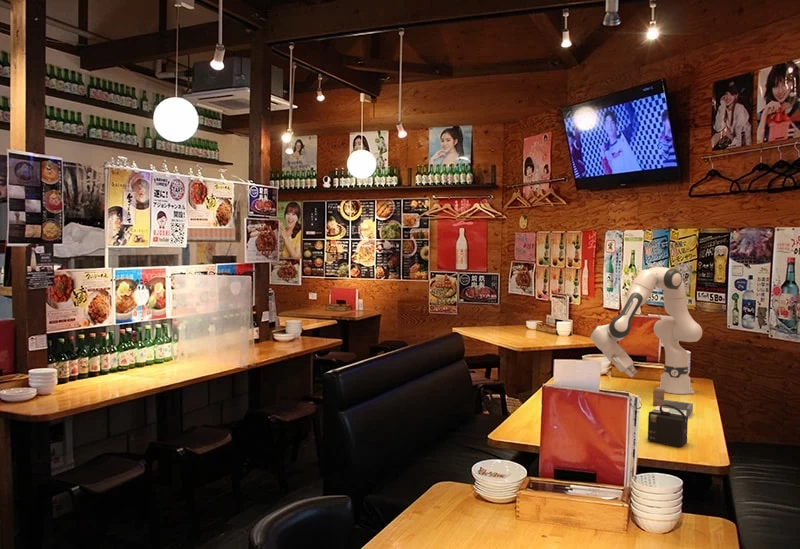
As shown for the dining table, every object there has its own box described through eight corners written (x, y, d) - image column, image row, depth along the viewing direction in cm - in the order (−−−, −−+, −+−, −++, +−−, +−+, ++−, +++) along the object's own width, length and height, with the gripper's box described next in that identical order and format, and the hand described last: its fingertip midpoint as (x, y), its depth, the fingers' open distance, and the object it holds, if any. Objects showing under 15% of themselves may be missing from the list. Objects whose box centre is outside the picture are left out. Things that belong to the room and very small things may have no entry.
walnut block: (654, 404, 320) (654, 388, 320) (664, 405, 318) (664, 389, 318) (652, 406, 316) (653, 390, 316) (662, 407, 314) (663, 391, 314)
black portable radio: (653, 435, 267) (655, 399, 266) (689, 442, 258) (690, 405, 258) (645, 441, 259) (646, 404, 258) (681, 448, 250) (682, 410, 249)
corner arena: (656, 407, 313) (657, 398, 312) (692, 412, 304) (692, 403, 304) (652, 413, 302) (653, 404, 302) (689, 418, 294) (690, 409, 293)
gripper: (615, 352, 317) (635, 374, 312) (623, 347, 335) (642, 367, 330) (605, 360, 319) (625, 382, 315) (614, 354, 337) (633, 375, 333)
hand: (634, 374), depth 323 cm, fingers open, 8 cm apart
